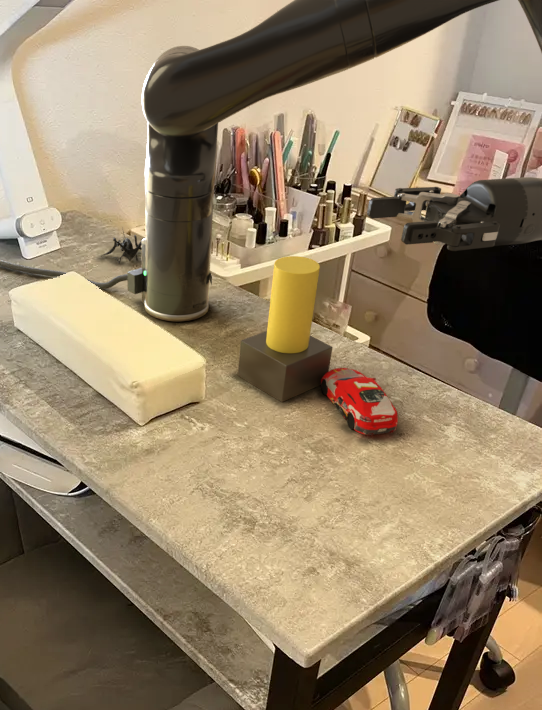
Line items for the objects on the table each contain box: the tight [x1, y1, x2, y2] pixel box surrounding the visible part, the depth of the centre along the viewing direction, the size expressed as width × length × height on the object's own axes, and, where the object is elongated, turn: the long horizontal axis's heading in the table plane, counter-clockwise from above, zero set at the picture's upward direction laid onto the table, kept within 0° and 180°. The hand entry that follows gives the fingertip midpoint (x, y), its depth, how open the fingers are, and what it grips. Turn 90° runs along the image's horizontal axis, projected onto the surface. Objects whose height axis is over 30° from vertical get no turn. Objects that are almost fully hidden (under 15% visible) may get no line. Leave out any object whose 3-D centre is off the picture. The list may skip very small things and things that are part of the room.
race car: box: [320, 367, 399, 436], centre depth 91 cm, size 13×5×4 cm, turn 12°
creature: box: [100, 227, 145, 264], centre depth 126 cm, size 8×5×8 cm
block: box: [237, 330, 334, 403], centre depth 96 cm, size 8×8×5 cm
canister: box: [266, 255, 321, 353], centre depth 91 cm, size 5×5×10 cm
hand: (386, 220), depth 88 cm, fingers open, 8 cm apart
